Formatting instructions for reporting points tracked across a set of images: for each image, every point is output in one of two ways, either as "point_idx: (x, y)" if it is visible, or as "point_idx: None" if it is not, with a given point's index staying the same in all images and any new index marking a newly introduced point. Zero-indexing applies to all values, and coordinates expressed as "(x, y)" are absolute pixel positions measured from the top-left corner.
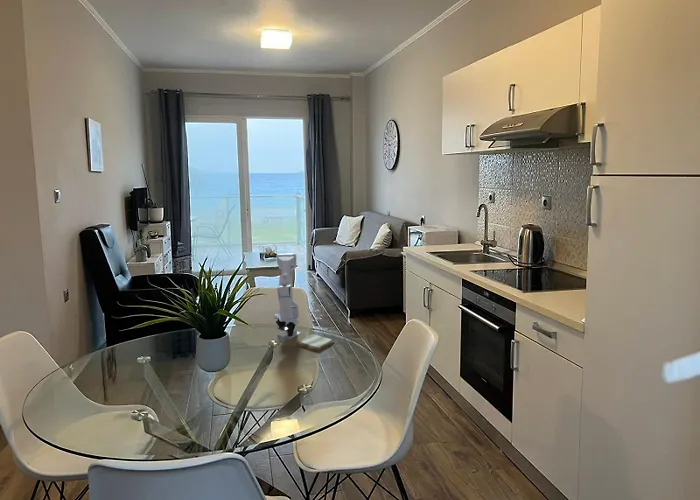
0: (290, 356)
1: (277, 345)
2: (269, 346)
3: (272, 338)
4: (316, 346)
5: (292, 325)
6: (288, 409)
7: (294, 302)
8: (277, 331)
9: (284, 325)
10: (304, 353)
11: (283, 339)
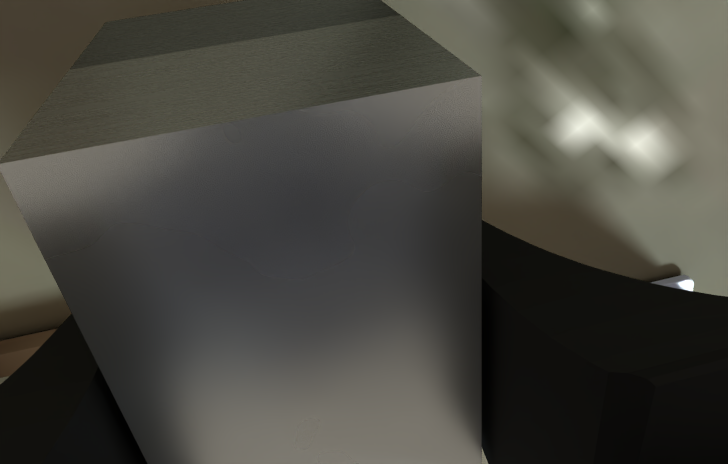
0: (41, 7)
1: (512, 107)
2: (590, 3)
3: (692, 180)
4: None
5: None
6: None
7: None
8: (411, 48)
9: (454, 425)
10: (3, 225)
11: (119, 35)
